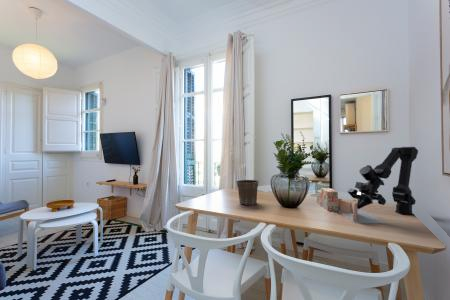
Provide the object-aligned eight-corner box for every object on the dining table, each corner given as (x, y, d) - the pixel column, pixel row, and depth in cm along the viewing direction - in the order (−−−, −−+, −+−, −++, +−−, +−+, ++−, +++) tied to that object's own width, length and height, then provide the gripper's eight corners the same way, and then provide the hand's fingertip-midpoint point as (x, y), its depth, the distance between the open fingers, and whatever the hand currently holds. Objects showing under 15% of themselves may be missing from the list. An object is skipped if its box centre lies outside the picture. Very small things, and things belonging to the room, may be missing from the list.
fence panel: (351, 212, 128) (351, 197, 128) (357, 213, 127) (357, 198, 127) (352, 220, 114) (352, 203, 114) (358, 221, 112) (358, 204, 112)
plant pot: (231, 203, 157) (231, 181, 157) (246, 199, 168) (246, 179, 168) (249, 207, 145) (248, 183, 145) (263, 203, 156) (263, 181, 156)
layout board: (361, 210, 135) (361, 209, 135) (386, 223, 111) (386, 222, 111) (336, 209, 137) (336, 209, 137) (354, 222, 112) (354, 222, 112)
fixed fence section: (352, 213, 129) (352, 201, 129) (349, 213, 128) (349, 201, 128) (339, 209, 137) (339, 198, 137) (337, 209, 137) (337, 198, 137)
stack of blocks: (316, 202, 156) (316, 185, 156) (325, 203, 155) (325, 185, 155) (327, 211, 135) (327, 191, 135) (338, 211, 134) (337, 191, 134)
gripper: (349, 174, 127) (335, 195, 123) (381, 178, 109) (365, 202, 106) (360, 187, 129) (346, 207, 126) (392, 192, 111) (377, 216, 108)
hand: (357, 208), depth 116 cm, fingers closed
